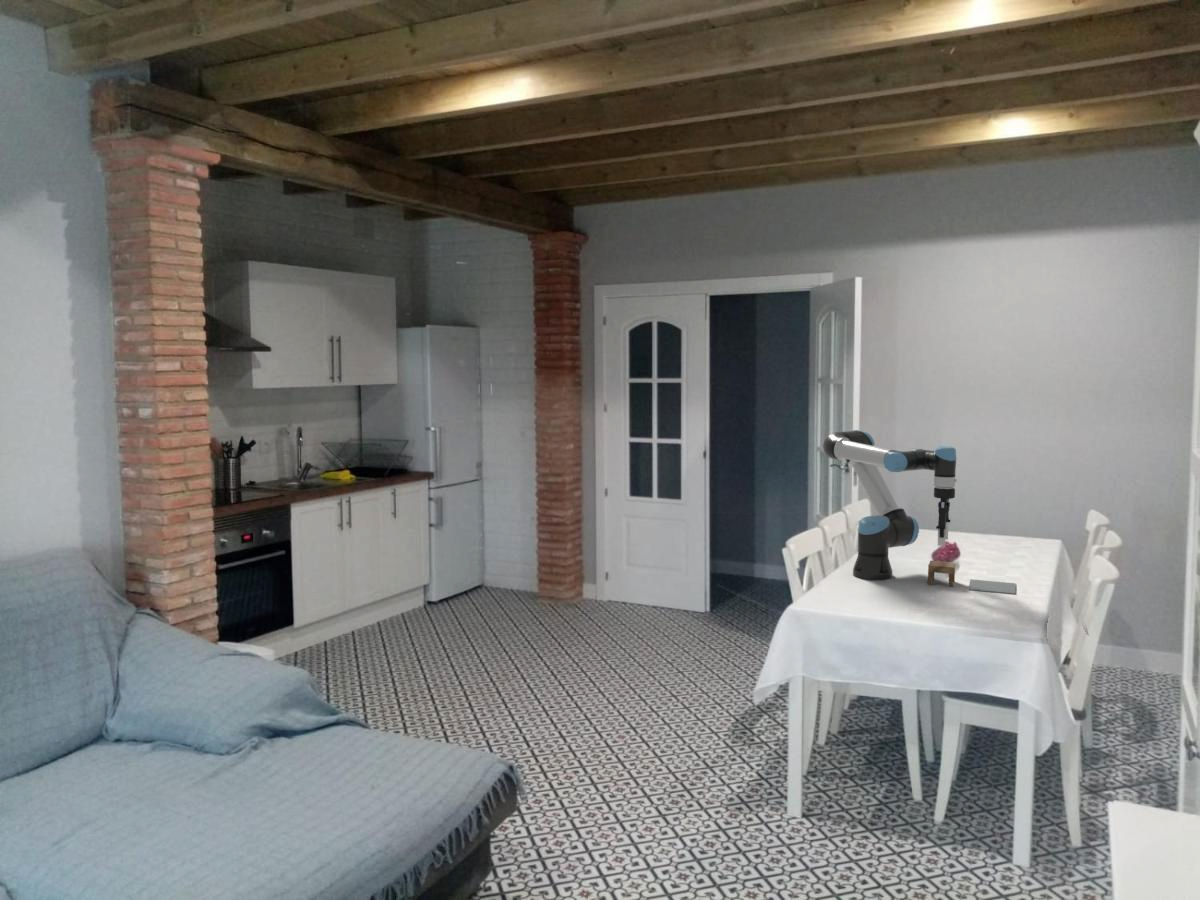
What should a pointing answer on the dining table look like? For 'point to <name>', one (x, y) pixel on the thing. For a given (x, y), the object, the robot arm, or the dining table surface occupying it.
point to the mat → (992, 586)
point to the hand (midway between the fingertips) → (942, 542)
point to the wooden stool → (941, 571)
